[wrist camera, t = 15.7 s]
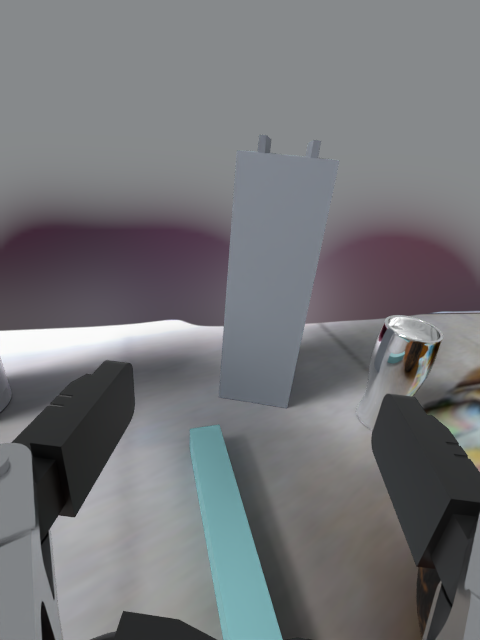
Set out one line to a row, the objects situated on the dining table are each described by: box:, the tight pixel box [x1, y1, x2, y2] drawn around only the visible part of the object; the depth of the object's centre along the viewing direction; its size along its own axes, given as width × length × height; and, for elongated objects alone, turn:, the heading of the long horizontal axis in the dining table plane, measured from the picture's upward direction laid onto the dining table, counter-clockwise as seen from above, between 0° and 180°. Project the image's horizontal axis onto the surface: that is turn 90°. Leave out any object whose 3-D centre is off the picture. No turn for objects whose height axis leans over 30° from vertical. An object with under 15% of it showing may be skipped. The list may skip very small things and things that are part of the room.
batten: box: [190, 425, 283, 640], centre depth 28 cm, size 4×24×4 cm, turn 16°
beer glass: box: [356, 315, 443, 430], centre depth 42 cm, size 7×7×15 cm
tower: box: [219, 135, 339, 408], centre depth 43 cm, size 10×10×34 cm
